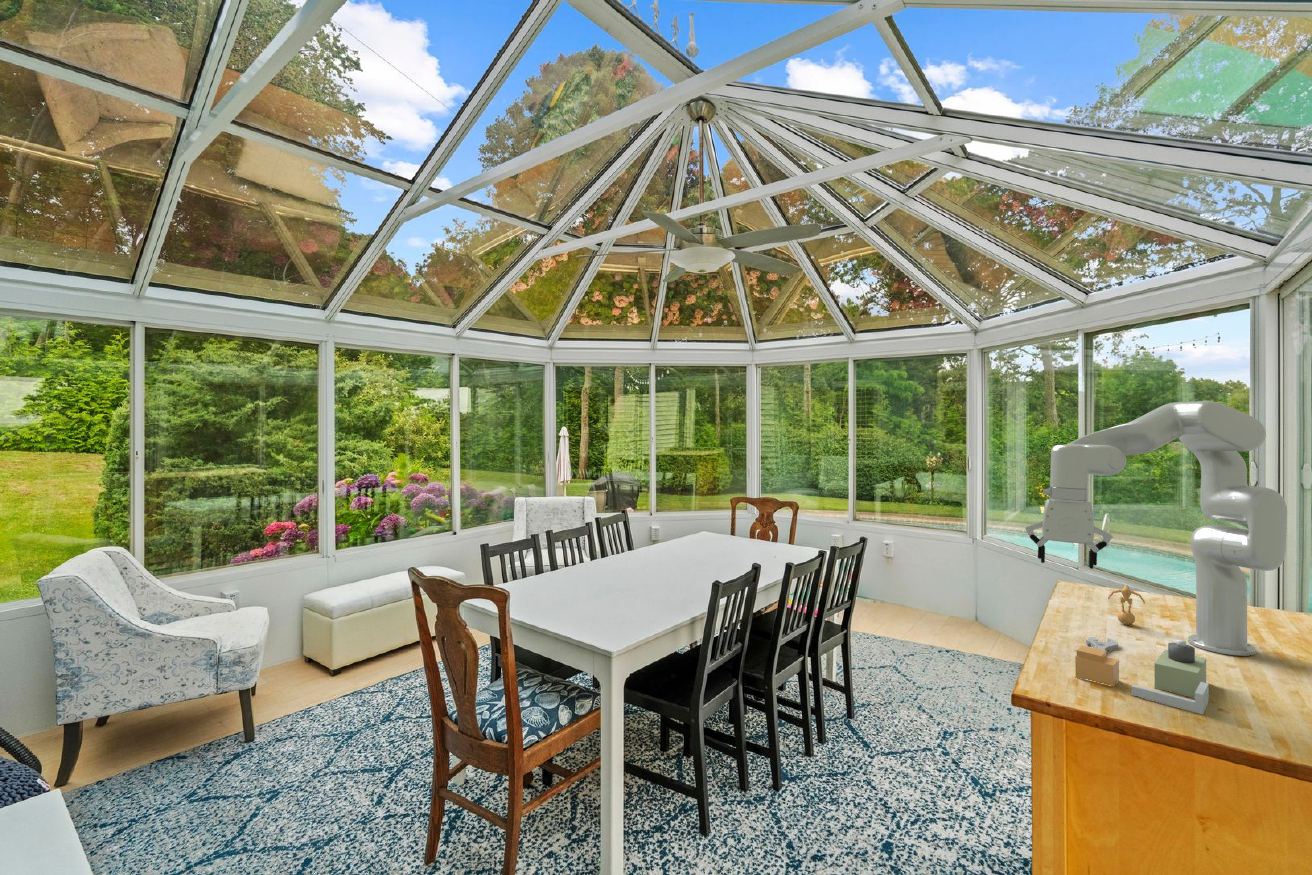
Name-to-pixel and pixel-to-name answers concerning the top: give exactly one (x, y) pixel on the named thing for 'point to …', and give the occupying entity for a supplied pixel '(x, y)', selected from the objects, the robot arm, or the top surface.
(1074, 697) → the top surface
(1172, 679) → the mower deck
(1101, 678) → the stepped orange block
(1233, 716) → the top surface
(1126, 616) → the figurine
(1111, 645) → the adjustable wrench
